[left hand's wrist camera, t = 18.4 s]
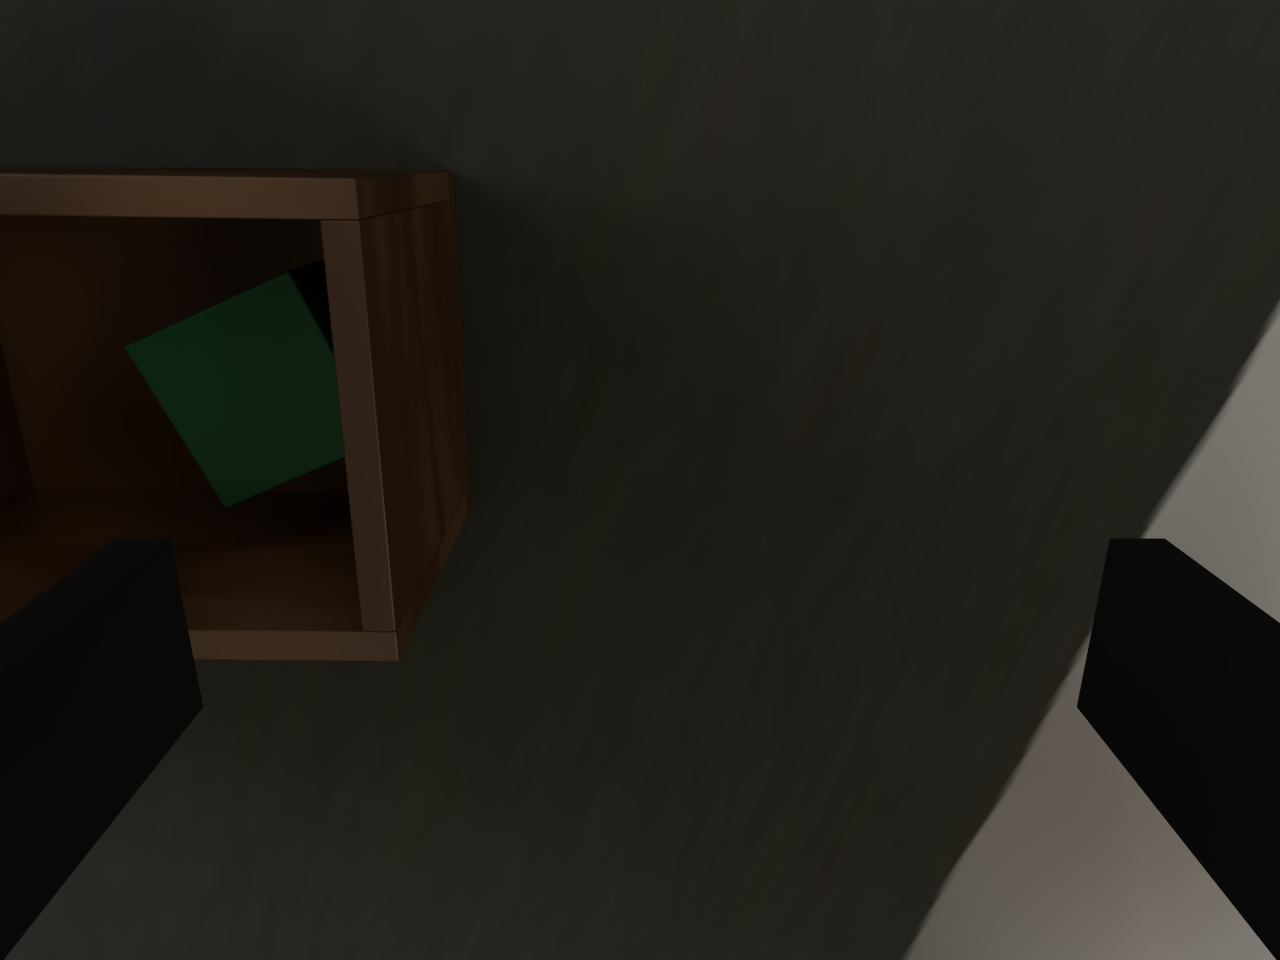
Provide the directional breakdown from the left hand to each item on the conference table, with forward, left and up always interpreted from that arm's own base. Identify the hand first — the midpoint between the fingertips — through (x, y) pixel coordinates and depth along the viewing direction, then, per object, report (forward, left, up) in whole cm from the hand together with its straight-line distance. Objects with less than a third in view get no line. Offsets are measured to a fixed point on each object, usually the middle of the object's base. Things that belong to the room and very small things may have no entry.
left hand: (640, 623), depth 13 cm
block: (-10, +5, -20) cm, 23 cm away
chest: (-13, +7, -21) cm, 25 cm away
